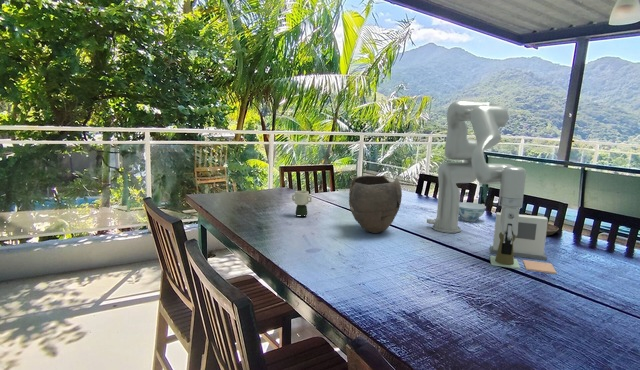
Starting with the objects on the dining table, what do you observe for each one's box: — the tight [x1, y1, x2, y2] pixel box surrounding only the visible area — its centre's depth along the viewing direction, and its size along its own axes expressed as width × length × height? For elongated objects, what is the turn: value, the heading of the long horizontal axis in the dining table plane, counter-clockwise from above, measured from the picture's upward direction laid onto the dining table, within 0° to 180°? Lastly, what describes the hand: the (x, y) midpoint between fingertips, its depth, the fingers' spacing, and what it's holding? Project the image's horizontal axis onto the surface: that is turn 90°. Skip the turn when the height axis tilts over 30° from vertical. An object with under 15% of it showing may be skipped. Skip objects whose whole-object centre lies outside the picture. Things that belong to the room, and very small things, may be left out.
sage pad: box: [489, 255, 521, 270], centre depth 138 cm, size 9×9×1 cm
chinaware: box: [459, 201, 487, 222], centre depth 199 cm, size 15×15×8 cm
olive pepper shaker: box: [495, 232, 515, 265], centre depth 136 cm, size 6×6×11 cm
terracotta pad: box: [522, 259, 557, 275], centre depth 134 cm, size 9×9×1 cm
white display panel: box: [489, 211, 549, 261], centre depth 146 cm, size 19×6×15 cm, turn 69°
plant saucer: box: [546, 222, 559, 237], centre depth 181 cm, size 21×21×3 cm
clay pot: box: [348, 175, 403, 234], centre depth 171 cm, size 24×24×25 cm
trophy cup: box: [291, 190, 313, 216], centre depth 197 cm, size 11×7×13 cm, turn 69°
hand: (505, 250), depth 137 cm, fingers open, 6 cm apart
